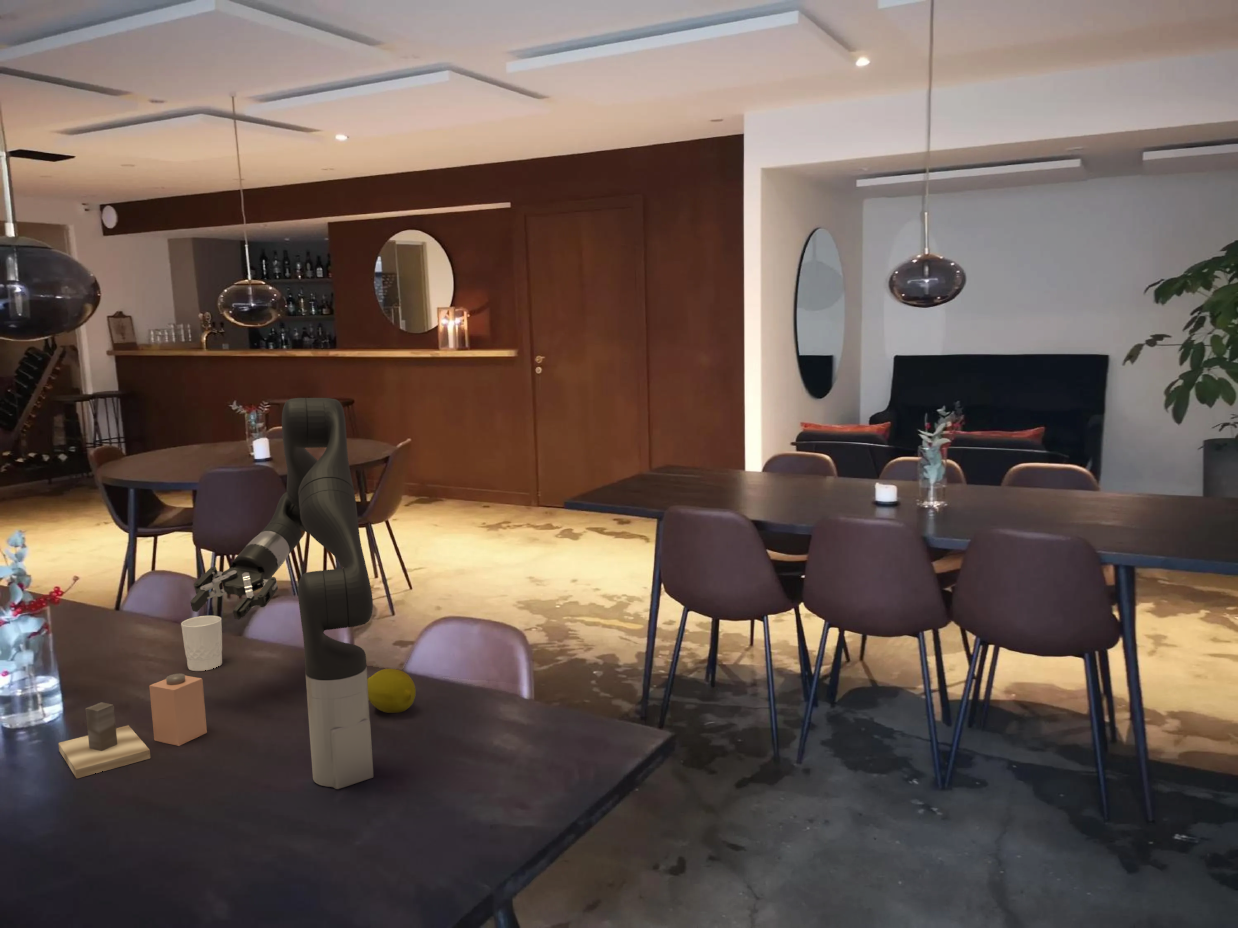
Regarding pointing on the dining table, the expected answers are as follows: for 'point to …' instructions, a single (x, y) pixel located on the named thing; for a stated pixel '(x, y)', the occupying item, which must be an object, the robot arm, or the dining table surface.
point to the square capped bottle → (178, 709)
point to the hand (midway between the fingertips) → (214, 611)
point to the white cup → (203, 642)
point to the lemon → (391, 690)
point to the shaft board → (105, 757)
